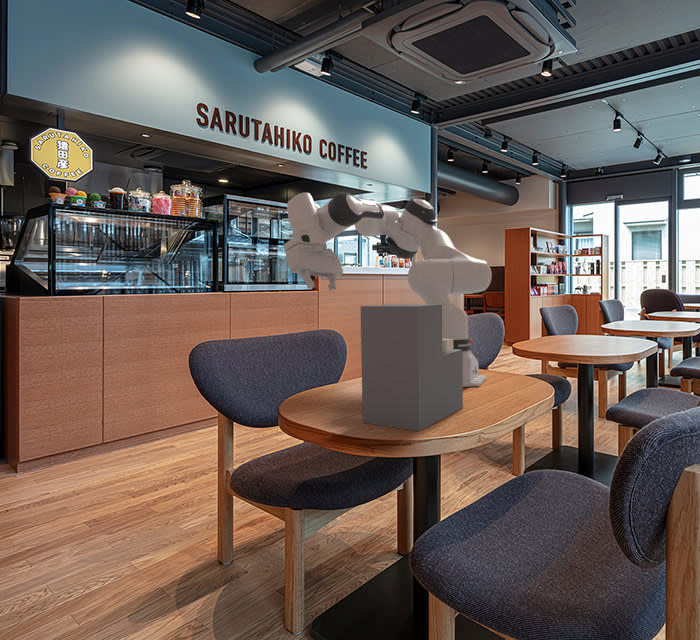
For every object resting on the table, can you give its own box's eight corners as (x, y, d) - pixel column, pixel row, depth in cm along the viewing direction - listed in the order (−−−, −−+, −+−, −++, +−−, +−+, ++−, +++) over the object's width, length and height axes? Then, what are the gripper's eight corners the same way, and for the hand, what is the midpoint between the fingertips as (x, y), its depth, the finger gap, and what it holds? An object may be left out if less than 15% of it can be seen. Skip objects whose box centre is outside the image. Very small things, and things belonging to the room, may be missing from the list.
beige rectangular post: (378, 347, 133) (377, 335, 133) (453, 351, 121) (453, 338, 121) (370, 348, 130) (369, 337, 130) (446, 353, 118) (446, 340, 118)
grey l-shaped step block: (412, 402, 133) (410, 303, 131) (462, 408, 125) (462, 302, 124) (362, 422, 113) (360, 306, 112) (419, 431, 105) (417, 306, 104)
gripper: (326, 254, 158) (337, 295, 155) (278, 244, 142) (290, 290, 139) (341, 245, 154) (352, 287, 151) (294, 234, 138) (306, 281, 135)
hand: (322, 288), depth 145 cm, fingers open, 8 cm apart
